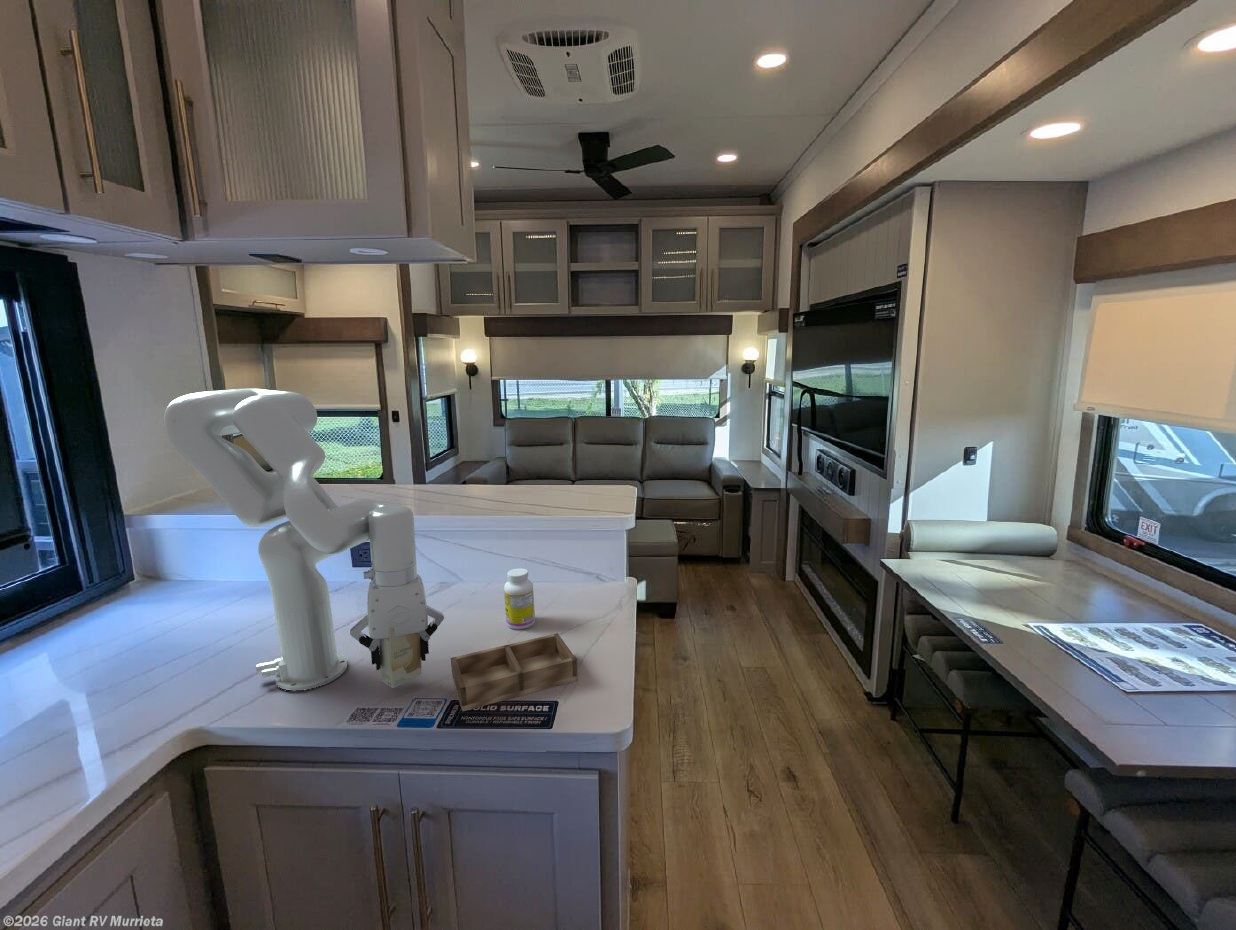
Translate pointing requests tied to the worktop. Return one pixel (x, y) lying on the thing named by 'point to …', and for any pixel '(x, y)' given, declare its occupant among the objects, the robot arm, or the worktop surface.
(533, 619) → the supplement bottle
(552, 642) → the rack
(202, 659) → the worktop surface
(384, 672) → the skincare box
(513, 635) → the worktop surface
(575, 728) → the worktop surface
